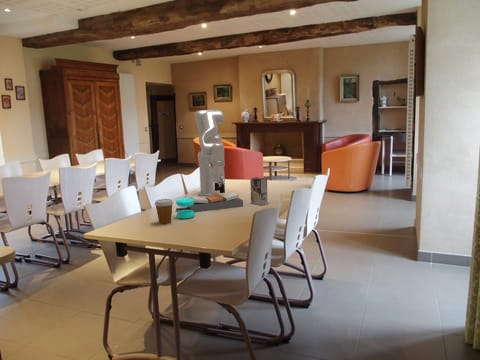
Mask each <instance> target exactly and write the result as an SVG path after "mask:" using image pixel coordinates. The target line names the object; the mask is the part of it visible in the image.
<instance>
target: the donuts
mask: <svg viewBox="0 0 480 360" xmlns="http://www.w3.org/2000/svg"><path fill="white" fill-rule="evenodd" d="M175 204H176V205H177V206H178V207H179V208H184V207H188V206H191V205H193V204H194V200H193V199H191V197H190V198H188V197H184V198H179V199H176V202H175ZM195 214H196V212H194V211H192V210H181V211H177V213H176V217H177V218H179V219H183V220H184V219H186V220H188V219H191V218H194V217H195Z"/></svg>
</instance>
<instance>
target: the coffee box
mask: <svg viewBox="0 0 480 360" xmlns="http://www.w3.org/2000/svg"><path fill="white" fill-rule="evenodd" d="M249 183H250V202H251V205H252V204H253V205H260V206H263V205H266V204H267V205H268V178H266V177H258V176H257V177H256V176H255V177H251V178H250V182H249Z"/></svg>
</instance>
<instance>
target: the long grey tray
mask: <svg viewBox="0 0 480 360" xmlns="http://www.w3.org/2000/svg"><path fill="white" fill-rule="evenodd" d="M238 207H239V208H240V207H244V200H243V199H242V198H240V197H239V198H235V199H232V200H228V201H226V200H224V199H222V200H219V201H215V202H212V203H211V202H209V201H208V203H198V202H194V204H193V205H191V206H188V207H176V209H175V211H176V212H179V211H181V210H192V211H194V213H199V212H207V211H215V210H223V209H233V208H238Z"/></svg>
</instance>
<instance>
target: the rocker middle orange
mask: <svg viewBox="0 0 480 360" xmlns="http://www.w3.org/2000/svg"><path fill="white" fill-rule="evenodd" d="M221 195H222V194H221V193H217V192H216V194H214V195H210V196H205V199H207V200H208V201H209V202H211V203H212V202H215V201H219V200H222V199H223V196H221Z"/></svg>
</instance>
